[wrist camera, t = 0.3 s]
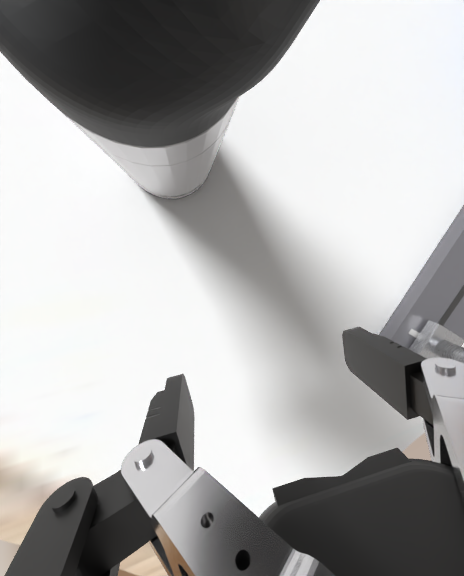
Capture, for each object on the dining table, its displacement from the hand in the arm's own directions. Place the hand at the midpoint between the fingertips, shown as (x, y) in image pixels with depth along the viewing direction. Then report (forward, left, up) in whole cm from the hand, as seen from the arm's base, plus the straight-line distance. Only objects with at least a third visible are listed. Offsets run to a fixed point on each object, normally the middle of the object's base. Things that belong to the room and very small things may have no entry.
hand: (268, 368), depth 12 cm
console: (+11, +33, -19) cm, 39 cm away
